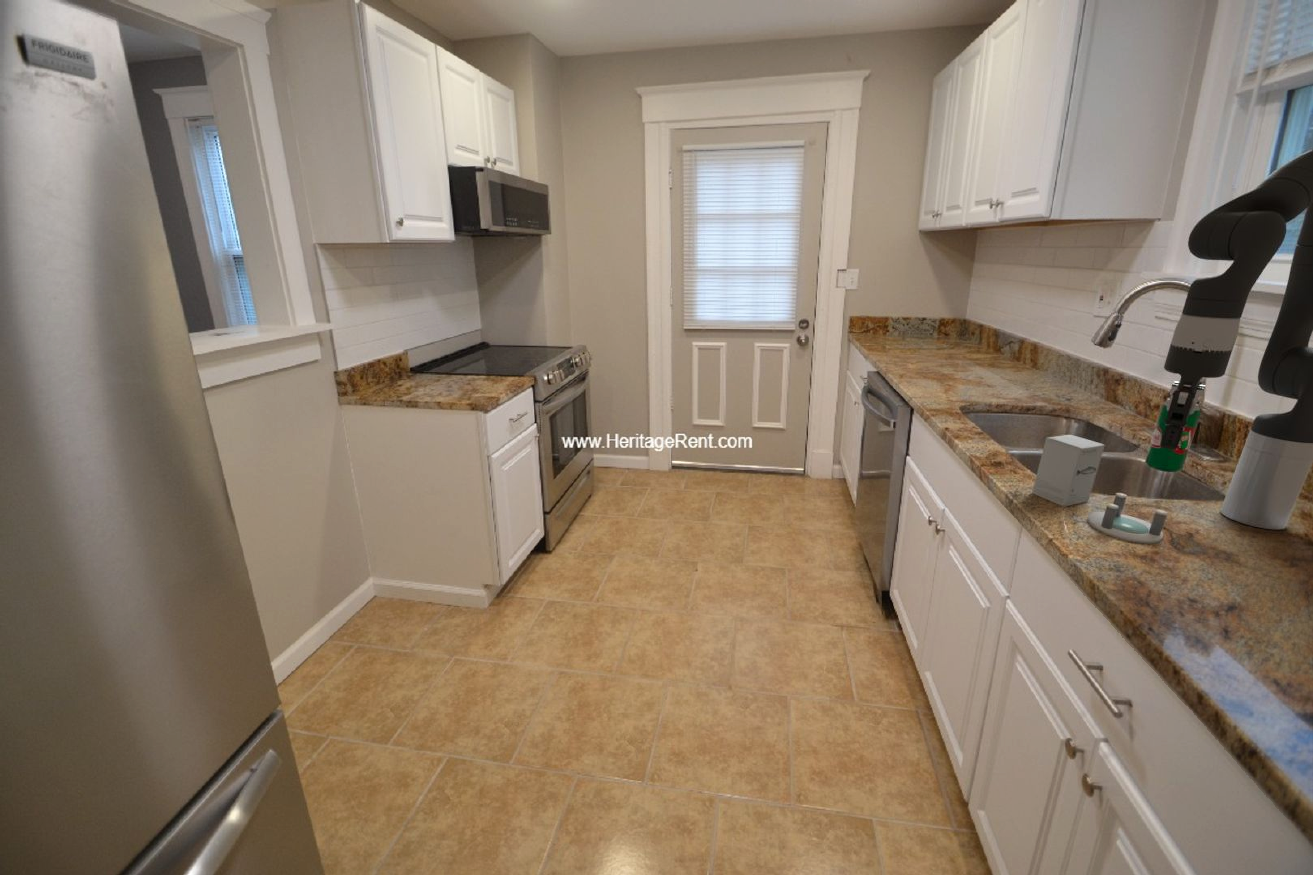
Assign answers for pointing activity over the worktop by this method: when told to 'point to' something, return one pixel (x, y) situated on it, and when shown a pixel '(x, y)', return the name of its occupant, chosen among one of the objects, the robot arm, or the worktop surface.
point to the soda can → (1168, 457)
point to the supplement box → (1067, 469)
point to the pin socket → (1127, 523)
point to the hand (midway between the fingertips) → (1170, 443)
